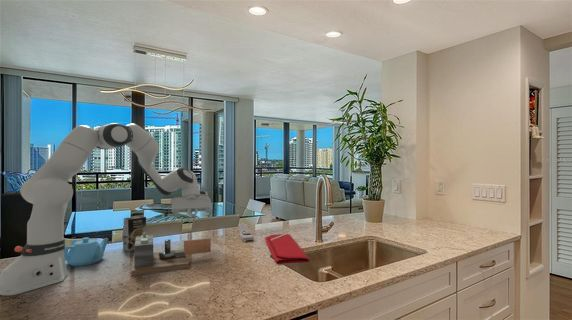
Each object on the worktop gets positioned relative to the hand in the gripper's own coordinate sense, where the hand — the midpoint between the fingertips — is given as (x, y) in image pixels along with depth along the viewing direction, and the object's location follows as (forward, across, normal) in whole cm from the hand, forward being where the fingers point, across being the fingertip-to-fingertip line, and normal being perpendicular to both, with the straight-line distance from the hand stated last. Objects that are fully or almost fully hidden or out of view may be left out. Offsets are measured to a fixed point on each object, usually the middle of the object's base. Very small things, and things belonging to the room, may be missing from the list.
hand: (193, 217), depth 153 cm
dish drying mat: (+25, +43, -1) cm, 50 cm away
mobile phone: (+2, +32, +22) cm, 39 cm away
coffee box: (+2, -27, +22) cm, 35 cm away
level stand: (+22, -16, +1) cm, 27 cm away
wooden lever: (+20, -5, 0) cm, 20 cm away
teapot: (+11, -46, +13) cm, 49 cm away
